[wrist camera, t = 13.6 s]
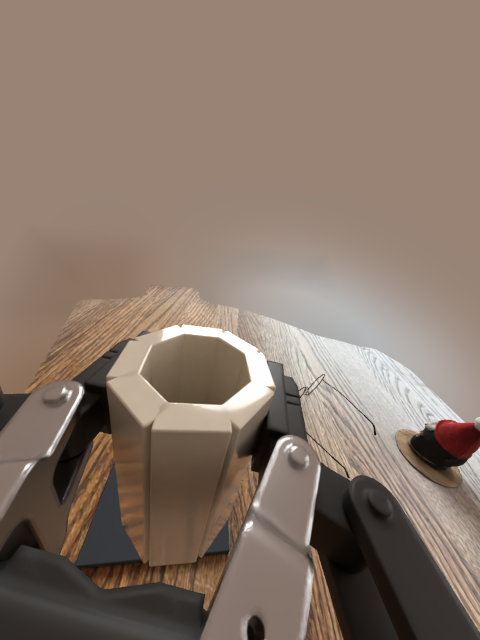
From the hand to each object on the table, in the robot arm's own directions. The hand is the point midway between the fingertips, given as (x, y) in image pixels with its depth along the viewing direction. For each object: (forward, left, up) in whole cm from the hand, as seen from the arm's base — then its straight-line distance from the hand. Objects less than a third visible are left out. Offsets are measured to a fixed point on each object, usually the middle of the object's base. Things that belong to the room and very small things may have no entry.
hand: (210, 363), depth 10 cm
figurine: (+35, +7, -20) cm, 41 cm away
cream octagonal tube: (-1, -3, -6) cm, 7 cm away
